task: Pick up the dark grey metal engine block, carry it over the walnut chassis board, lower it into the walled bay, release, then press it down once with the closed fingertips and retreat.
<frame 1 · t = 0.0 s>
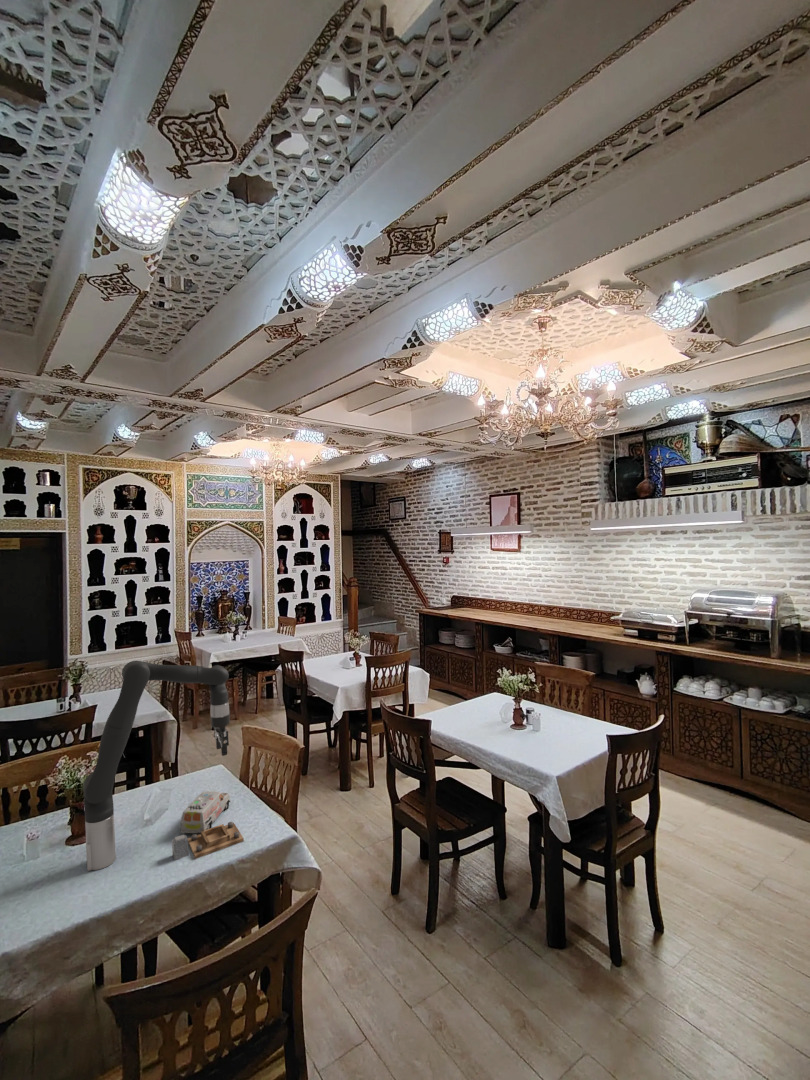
hand: (221, 751, 216), 29 cm above the table, fingers open, 8 cm apart
engine block: (180, 855, 193), on the table
chassis: (215, 841, 201), on the table
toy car: (206, 820, 217), on the table
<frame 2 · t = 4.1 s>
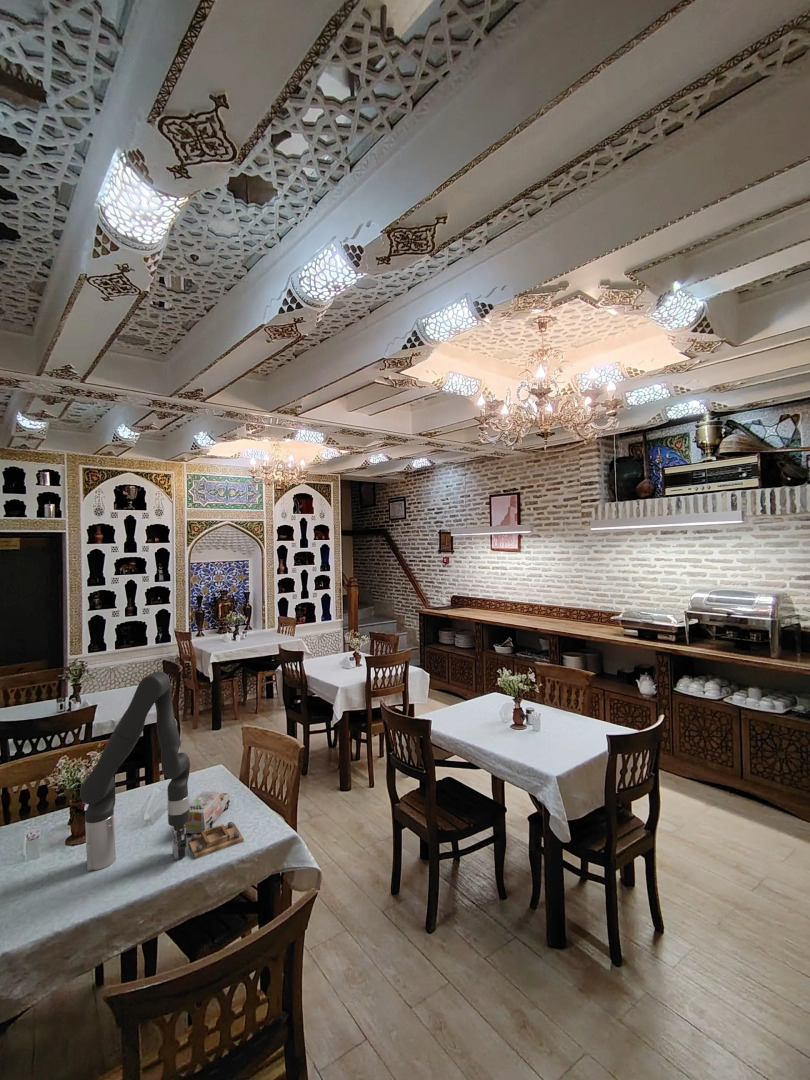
hand: (180, 853, 193), 0 cm above the table, fingers closed on engine block, 4 cm apart
engine block: (180, 855, 193), on the table, touching gripper
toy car: (207, 820, 217), on the table, touching chassis
when the fingers open (3 cm above the table, at t = 8.3 s): engine block drops 1 cm, resting on chassis.
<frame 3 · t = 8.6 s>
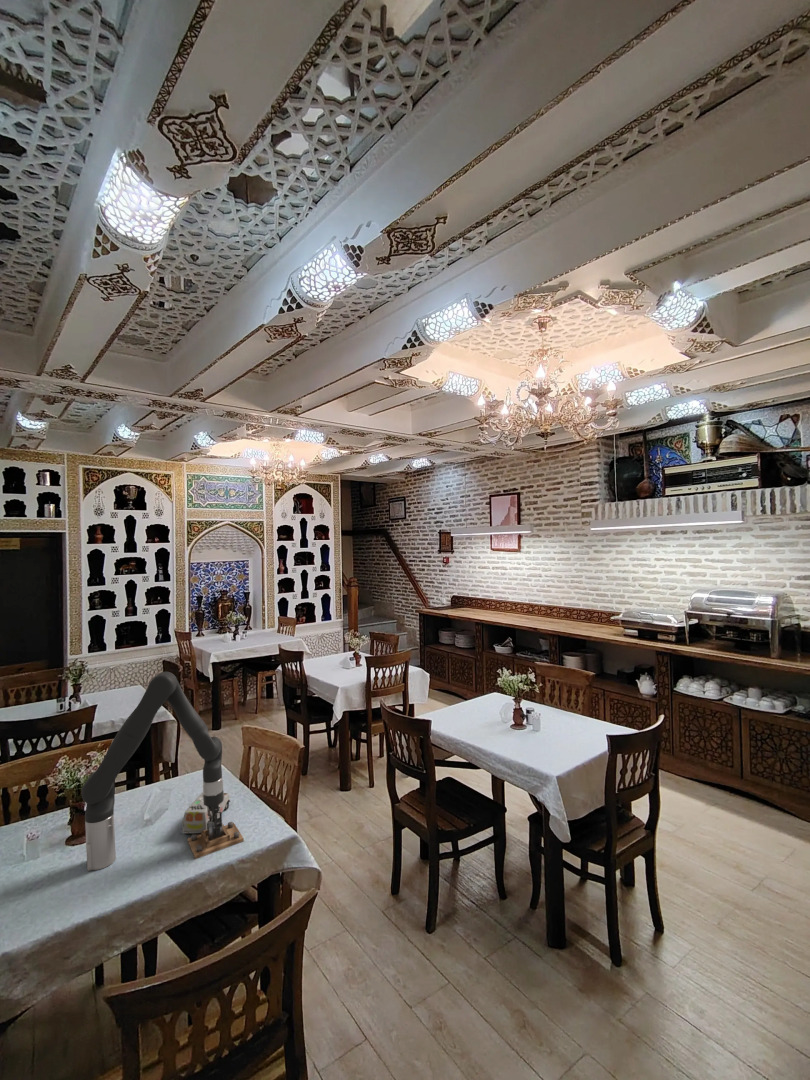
hand: (215, 832, 201), 4 cm above the table, fingers open, 6 cm apart
engine block: (215, 838, 201), point 1 cm above the table, touching chassis
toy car: (207, 820, 217), on the table
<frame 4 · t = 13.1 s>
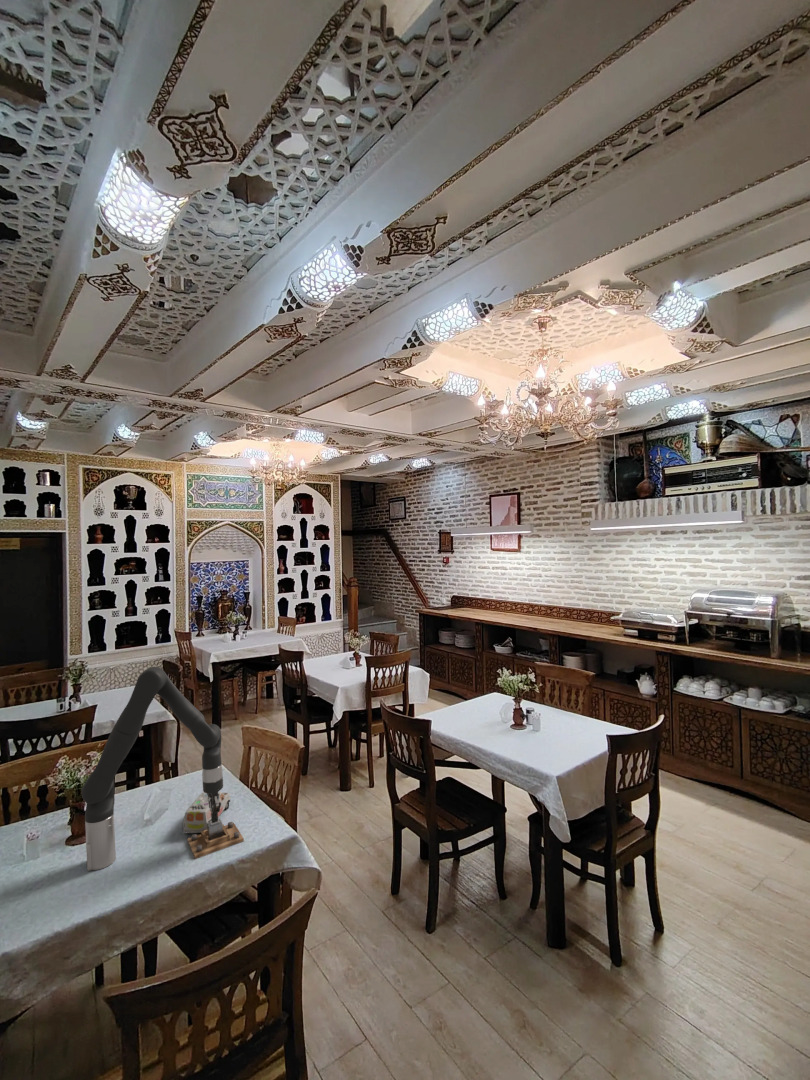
hand: (214, 821, 201), 8 cm above the table, fingers closed
engine block: (215, 838, 201), point 1 cm above the table, touching chassis, gripper
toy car: (208, 820, 217), on the table, touching chassis
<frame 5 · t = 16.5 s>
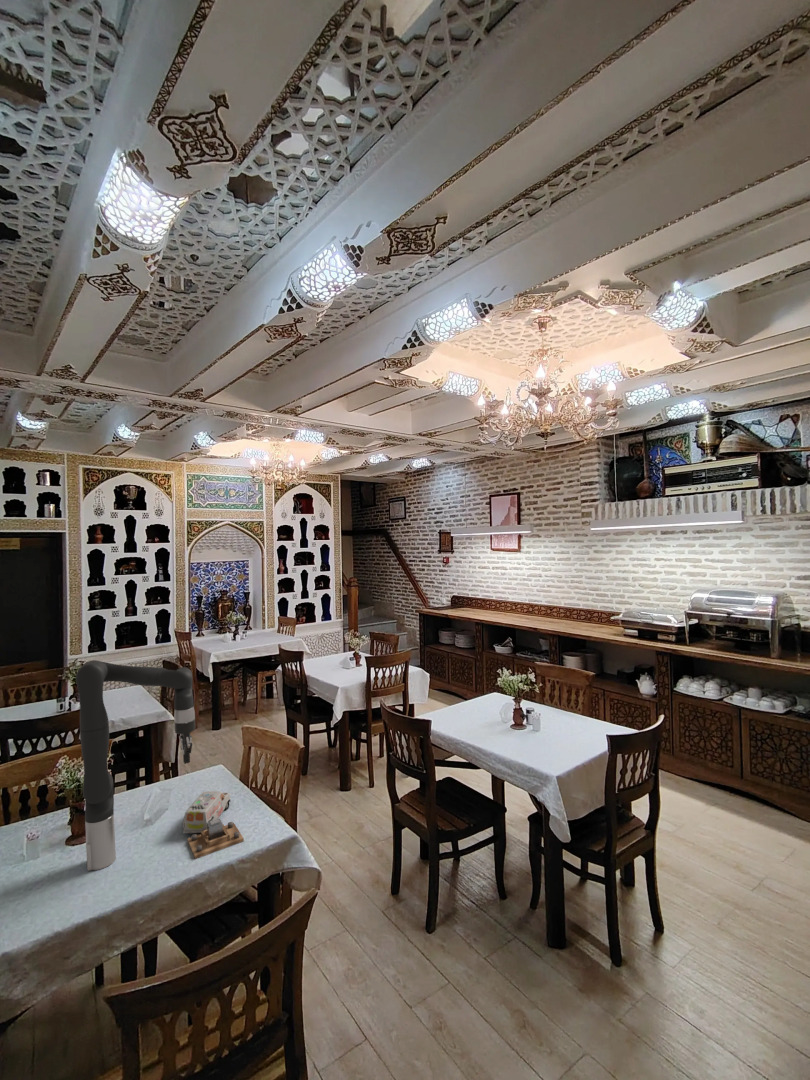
hand: (186, 762, 202), 31 cm above the table, fingers closed
engine block: (215, 838, 201), point 1 cm above the table, touching chassis
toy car: (208, 820, 217), on the table
at the end: engine block 0.1 cm off-centre on the chassis, point 1.2 cm above the chassis's base; engine block tilted 0°; the gripper is holding nothing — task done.
